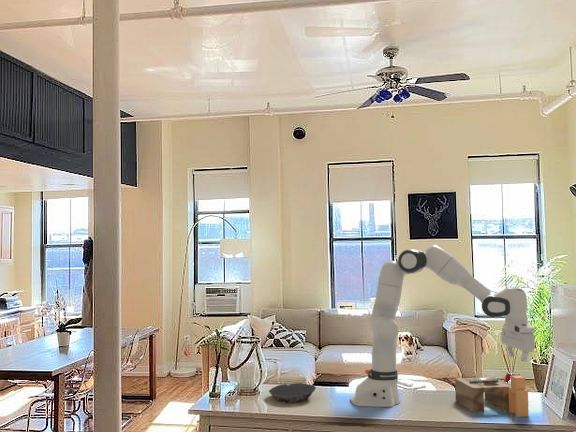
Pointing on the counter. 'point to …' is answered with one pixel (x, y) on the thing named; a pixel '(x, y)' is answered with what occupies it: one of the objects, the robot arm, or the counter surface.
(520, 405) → the stepped wooden block
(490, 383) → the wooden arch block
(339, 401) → the counter surface
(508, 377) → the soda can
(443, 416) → the counter surface
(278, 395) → the bowl
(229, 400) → the counter surface
